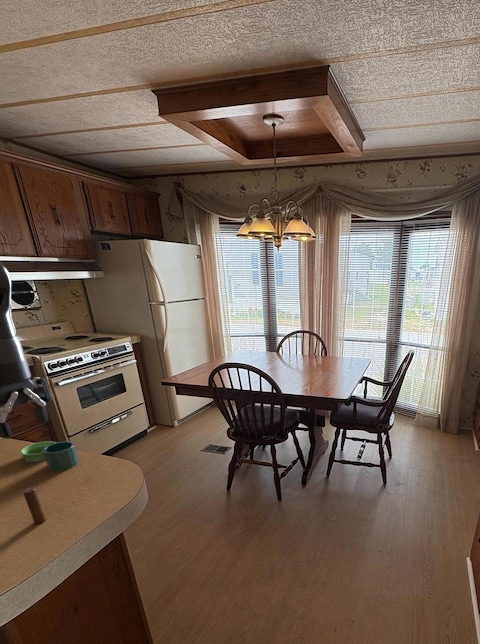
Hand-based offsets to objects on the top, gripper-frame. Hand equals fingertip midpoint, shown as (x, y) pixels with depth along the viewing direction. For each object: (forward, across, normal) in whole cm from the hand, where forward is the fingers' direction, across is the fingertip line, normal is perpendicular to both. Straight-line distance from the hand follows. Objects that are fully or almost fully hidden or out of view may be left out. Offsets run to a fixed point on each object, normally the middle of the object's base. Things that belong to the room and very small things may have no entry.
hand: (25, 429), depth 77 cm
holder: (+22, -17, -13) cm, 31 cm away
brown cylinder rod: (+22, +4, 0) cm, 23 cm away
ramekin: (+22, -21, -24) cm, 39 cm away
